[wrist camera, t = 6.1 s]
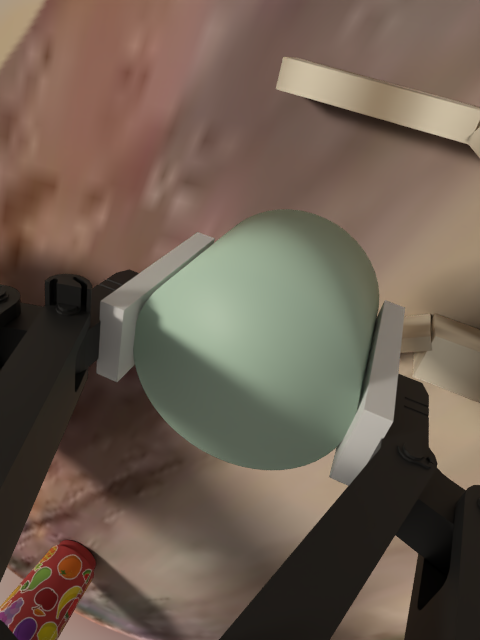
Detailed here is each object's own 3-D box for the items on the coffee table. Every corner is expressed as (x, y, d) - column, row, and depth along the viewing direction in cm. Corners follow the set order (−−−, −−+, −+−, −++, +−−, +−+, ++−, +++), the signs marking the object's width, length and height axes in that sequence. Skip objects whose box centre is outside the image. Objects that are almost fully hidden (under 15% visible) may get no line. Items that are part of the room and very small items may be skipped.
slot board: (240, 286, 33) (219, 310, 30) (297, 57, 25) (278, 56, 22) (566, 410, 29) (583, 453, 26) (758, 183, 21) (819, 204, 18)
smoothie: (68, 570, 65) (-54, 741, 48) (43, 528, 62) (-98, 696, 45) (114, 579, 61) (-1, 766, 45) (89, 535, 58) (-44, 719, 42)
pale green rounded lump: (196, 333, 21) (124, 415, 16) (226, 184, 17) (144, 231, 12) (342, 392, 20) (313, 502, 15) (409, 246, 16) (401, 326, 11)
